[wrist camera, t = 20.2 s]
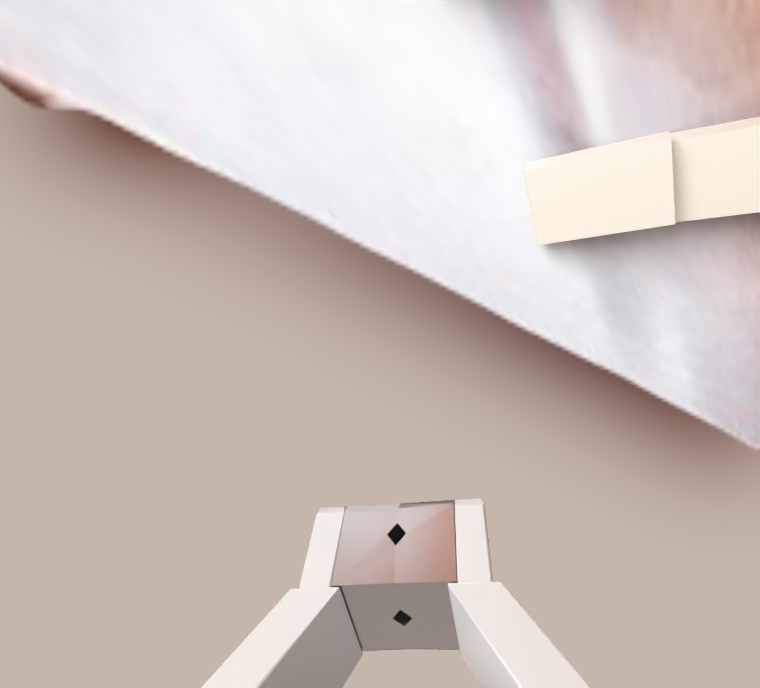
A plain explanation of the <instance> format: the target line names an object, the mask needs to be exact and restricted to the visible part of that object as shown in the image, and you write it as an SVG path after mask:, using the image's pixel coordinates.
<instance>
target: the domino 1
mask: <svg viewBox="0 0 760 688" xmlns="http://www.w3.org/2000/svg"><path fill="white" fill-rule="evenodd" d="M523 172H524V177H525V183H526V188H527V194H528V199H529V205H530V210H531V216H532V221H533V226H534V232H535V237H536V243H537V245H543V244H550V243H556V242H563V241H569V240H576V239H583V238H589V237H596V236H602V235H609V234H615V233H622V232H628V231H635V230H641V229H648V228H654V227H661V226H667V225H674V224H675V206H674V185H673V164H672V143H671V136H670V133H669V131H665V132H661V133H656V134H652V135H647V136H643V137H638V138H634V139H629V140H625V141H620V142H616V143H612V144H607V145H603V146H598V147H594V148H589V149H585V150H580V151H576V152H571V153H567V154H563V155H558V156H554V157H549V158H545V159H540V160H536V161H531V162H527V164H526V166H525V169H524V171H523Z"/></svg>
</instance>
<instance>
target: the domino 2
mask: <svg viewBox="0 0 760 688" xmlns="http://www.w3.org/2000/svg"><path fill="white" fill-rule="evenodd" d="M670 136H671V143H672V164H673V185H674V206H675V222H683V221H691V220H700V219H708V218H716V217H724V216H732V215H741V214H749V213H757V212H760V117H755V118H750V119H744V120H739V121H733V122H728V123H723V124H717V125H712V126H707V127H701V128H696V129H690V130H685V131H680V132H674V133H670Z"/></svg>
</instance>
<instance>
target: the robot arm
mask: <svg viewBox="0 0 760 688" xmlns="http://www.w3.org/2000/svg"><path fill="white" fill-rule="evenodd" d="M399 649H438V650H440V649H441V650H460V653H461V655H462V656H463V658H464V659H465V661H466V663H467V665H468V666H469V668H470V670H471V671H472V673H473V675H474V677H475V678H476V680H477V682H478V683H479V685H480V687H481V688H589V686H588V685H587V684H586V683H585V682H584V680H583V679H582V678H581V677H580V676H579V674H578V673H577V672H576V671H575V669H574V668H573V667H572V666H571V665H570V663H569V662H568V661H567V660H566V659H565V657H564V656H563V655H562V654H561V653H560V651H559V650H558V649H557V648H556V646H555V645H554V644H553V643H552V642H551V641H550V639H549V638H548V637H547V636H546V634H545V633H544V632H543V631H542V630H541V628H540V627H539V626H538V625H537V623H536V622H535V621H534V620H533V619H532V617H531V616H530V615H529V614H528V613H527V611H526V610H525V609H524V608H523V607H522V605H521V604H520V603H519V602H518V601H517V599H516V598H515V597H514V596H513V594H512V593H511V592H510V591H509V590H508V588H507V587H506V586H505V585H504V584H503V582H493V577H492V568H491V559H490V549H489V540H488V531H487V522H486V513H485V504H484V500H483V499H465V500H455V501H454V500H445V501H431V502H417V503H403V504H400V505H368V506H347V507H323V508H320V510H319V512H318V513H317V515H316V519H315V523H314V527H313V532H312V536H311V540H310V544H309V549H308V553H307V557H306V562H305V566H304V570H303V574H302V578H301V583H300V587H299V588H292V589H290V591H289V592H288V593H287V594H286V595H285V596H284V597H283V598H282V599H281V600H280V602H279V603H278V604H277V605H276V606H275V607H274V608H273V609H272V610H271V612H269V614H268V615H267V616H266V617H265V618H264V619H263V620H262V621H261V623H260V624H259V625H258V626H257V627H256V628H255V629H254V630H253V631H252V632H251V633H250V635H249V636H248V637H247V638H246V639H245V640H244V641H243V642H242V643H241V645H240V646H239V647H238V648H237V649H236V650H235V651H234V652H233V653H232V655H231V656H230V657H229V658H228V659H227V660H226V661H225V662H224V663H223V664H222V665H221V667H220V668H219V669H218V670H217V671H216V672H215V673H214V674H213V675H212V676H211V678H210V679H209V680H208V681H207V682H206V683H205V684H204V685H203V686H202V687H201V688H342V687H343V686H344V684H345V682H346V681H347V679H348V677H349V676H350V674H351V673H352V671H353V669H354V668H355V666H356V665H357V663H358V661H359V660H360V658H361V656H362V651H377V650H399Z"/></svg>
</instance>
